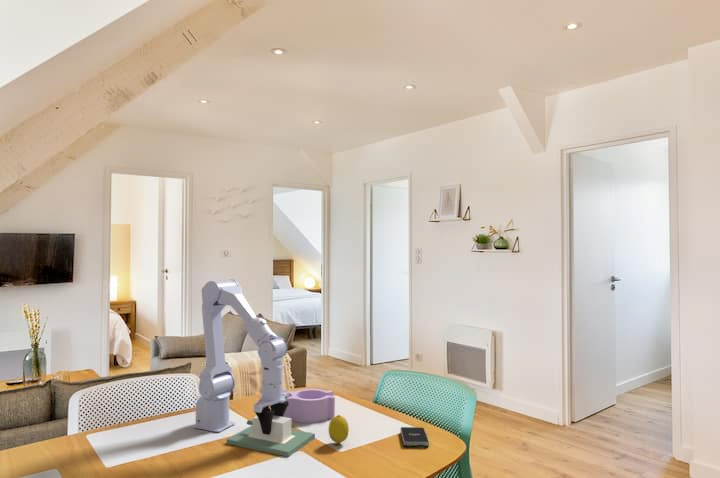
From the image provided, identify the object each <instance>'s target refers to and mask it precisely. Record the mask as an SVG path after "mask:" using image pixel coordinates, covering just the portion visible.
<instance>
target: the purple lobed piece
mask: <svg viewBox="0 0 720 478" xmlns="http://www.w3.org/2000/svg"><path fill="white" fill-rule="evenodd" d="M286 401H288V402H289V405H288V406H287V408H286V410H285V413H284V416H283V417H287V418H291V421H298V422H300V421H301V423H319V422H323V421H326V420H328V419H330V420H332V419H333V418H334V417H336V414H335V413H336V411H335V410H336V397H335V396H334V390H324V389H319V388H306V389H305V388H304V389H300V390H296V391H295V390H294V391H289V398H287V399H286Z"/></svg>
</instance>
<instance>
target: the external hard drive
mask: <svg viewBox="0 0 720 478" xmlns="http://www.w3.org/2000/svg"><path fill="white" fill-rule="evenodd" d="M400 436H401V440H402V445H403V447H404V448H414V449H415V448H417V449H418V448H419V449H421V448H423V449H425V448H429V447H430V441H429V438H428V436H427V432H426V430H425V427H419V426H415V427H414V426H411V427H409V426H401V427H400Z"/></svg>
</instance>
